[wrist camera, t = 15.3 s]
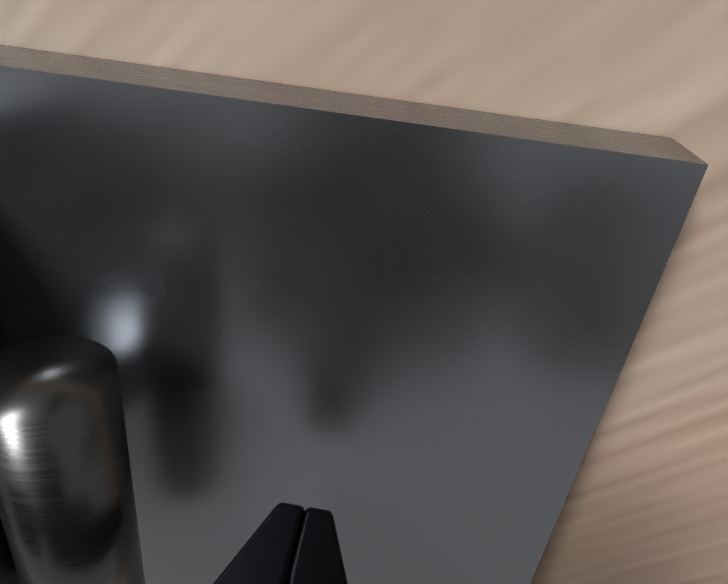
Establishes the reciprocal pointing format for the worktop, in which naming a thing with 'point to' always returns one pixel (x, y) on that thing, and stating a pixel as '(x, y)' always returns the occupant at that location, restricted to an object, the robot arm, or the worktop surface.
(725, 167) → the worktop surface
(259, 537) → the robot arm
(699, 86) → the worktop surface
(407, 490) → the vise base
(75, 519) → the sliding jaw
